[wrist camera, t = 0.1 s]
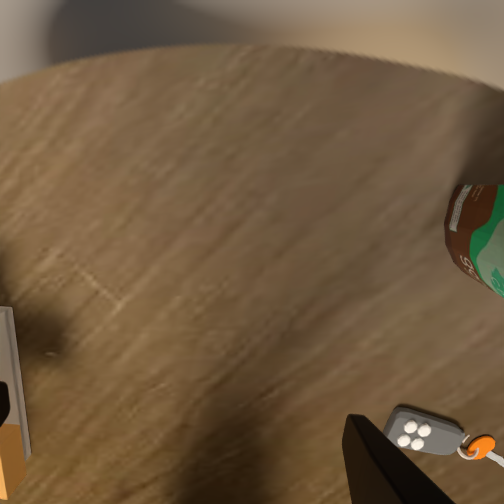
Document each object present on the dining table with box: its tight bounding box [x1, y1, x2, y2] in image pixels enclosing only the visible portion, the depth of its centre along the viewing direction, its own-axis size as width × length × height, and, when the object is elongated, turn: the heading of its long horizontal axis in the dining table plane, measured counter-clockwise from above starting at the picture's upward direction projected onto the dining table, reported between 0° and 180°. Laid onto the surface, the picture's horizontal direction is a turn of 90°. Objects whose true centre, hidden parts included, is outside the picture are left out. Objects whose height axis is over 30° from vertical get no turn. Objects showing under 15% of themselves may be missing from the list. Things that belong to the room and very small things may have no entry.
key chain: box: [383, 407, 504, 467], centre depth 26 cm, size 13×4×2 cm, turn 74°
